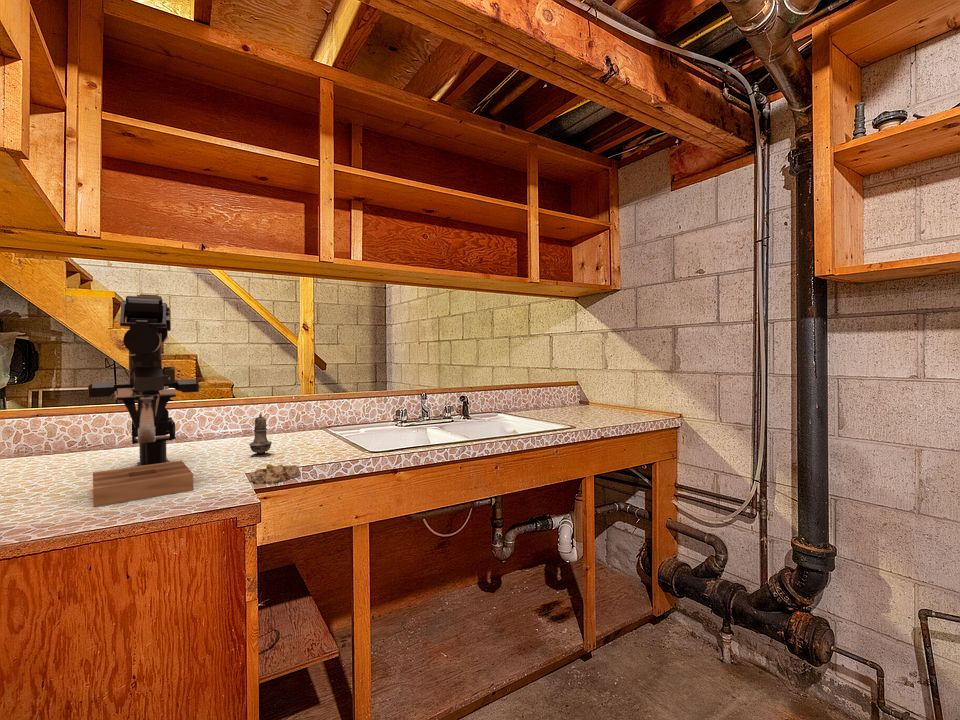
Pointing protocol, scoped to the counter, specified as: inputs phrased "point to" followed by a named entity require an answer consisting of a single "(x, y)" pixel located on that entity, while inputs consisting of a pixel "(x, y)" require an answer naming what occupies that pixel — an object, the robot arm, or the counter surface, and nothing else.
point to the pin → (146, 418)
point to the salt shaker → (260, 439)
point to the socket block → (140, 482)
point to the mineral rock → (274, 474)
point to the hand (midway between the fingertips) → (146, 427)
